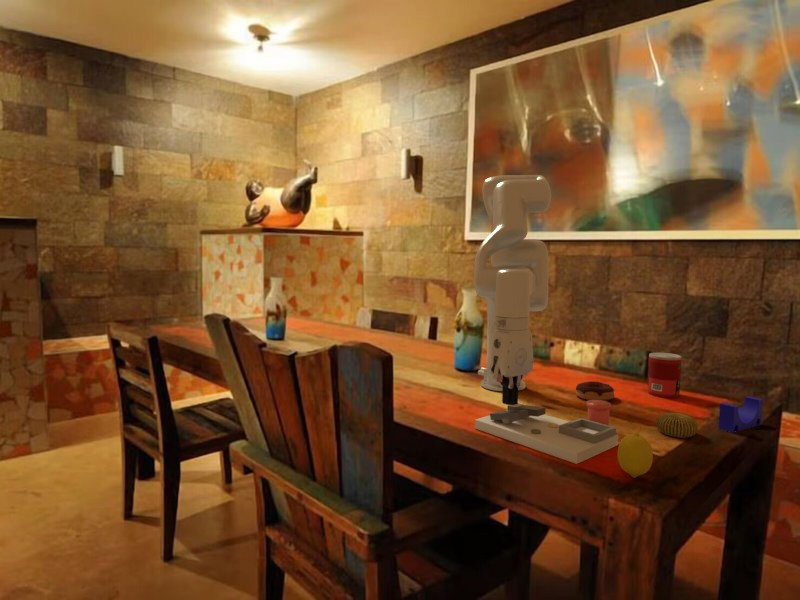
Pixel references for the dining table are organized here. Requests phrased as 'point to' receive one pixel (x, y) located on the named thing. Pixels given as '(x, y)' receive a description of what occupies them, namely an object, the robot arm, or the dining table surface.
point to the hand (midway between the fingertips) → (509, 403)
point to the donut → (595, 391)
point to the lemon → (635, 454)
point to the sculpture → (677, 425)
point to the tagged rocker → (531, 409)
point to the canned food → (664, 375)
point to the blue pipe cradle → (741, 415)
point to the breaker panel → (555, 435)
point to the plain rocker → (509, 415)
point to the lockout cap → (598, 411)
